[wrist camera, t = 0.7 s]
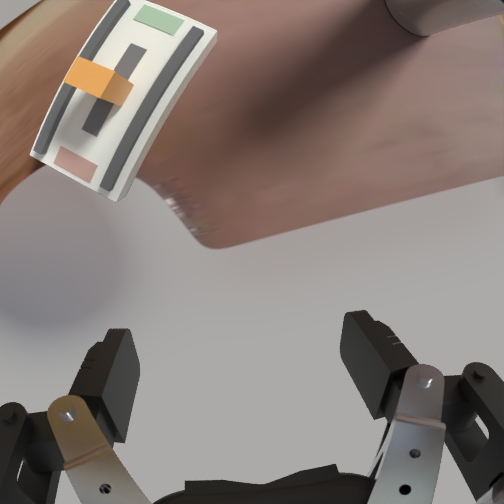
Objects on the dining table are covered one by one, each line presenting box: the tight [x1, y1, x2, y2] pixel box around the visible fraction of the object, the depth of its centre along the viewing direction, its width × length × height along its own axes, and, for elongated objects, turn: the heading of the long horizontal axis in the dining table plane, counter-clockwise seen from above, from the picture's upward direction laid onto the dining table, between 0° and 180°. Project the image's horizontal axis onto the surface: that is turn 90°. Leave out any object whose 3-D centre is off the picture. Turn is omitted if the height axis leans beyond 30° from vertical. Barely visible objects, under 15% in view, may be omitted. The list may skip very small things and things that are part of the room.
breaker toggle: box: [63, 56, 134, 106], centre depth 22 cm, size 2×4×6 cm, turn 59°
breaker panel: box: [30, 0, 217, 202], centre depth 27 cm, size 20×12×4 cm, turn 149°
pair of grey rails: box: [33, 0, 204, 192], centre depth 25 cm, size 18×10×1 cm, turn 149°
